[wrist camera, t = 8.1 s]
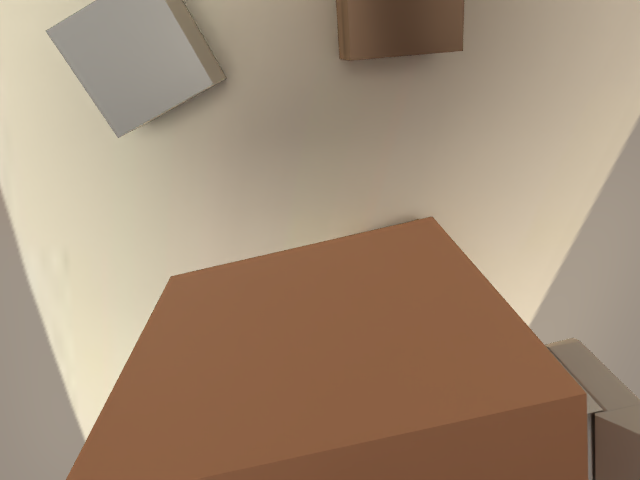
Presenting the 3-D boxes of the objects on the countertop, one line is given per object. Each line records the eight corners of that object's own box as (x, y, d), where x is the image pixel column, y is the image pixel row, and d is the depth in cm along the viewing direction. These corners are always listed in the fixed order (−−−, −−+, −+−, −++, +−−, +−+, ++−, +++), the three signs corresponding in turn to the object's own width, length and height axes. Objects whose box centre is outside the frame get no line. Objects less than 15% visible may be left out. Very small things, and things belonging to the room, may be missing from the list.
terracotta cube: (432, 216, 9) (586, 392, 4) (461, 423, 11) (591, 703, 6) (171, 276, 9) (50, 511, 4) (243, 471, 11) (211, 781, 6)
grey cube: (174, -15, 24) (147, -31, 20) (226, 78, 26) (213, 84, 21) (90, 34, 25) (45, 30, 20) (147, 122, 27) (118, 137, 22)
